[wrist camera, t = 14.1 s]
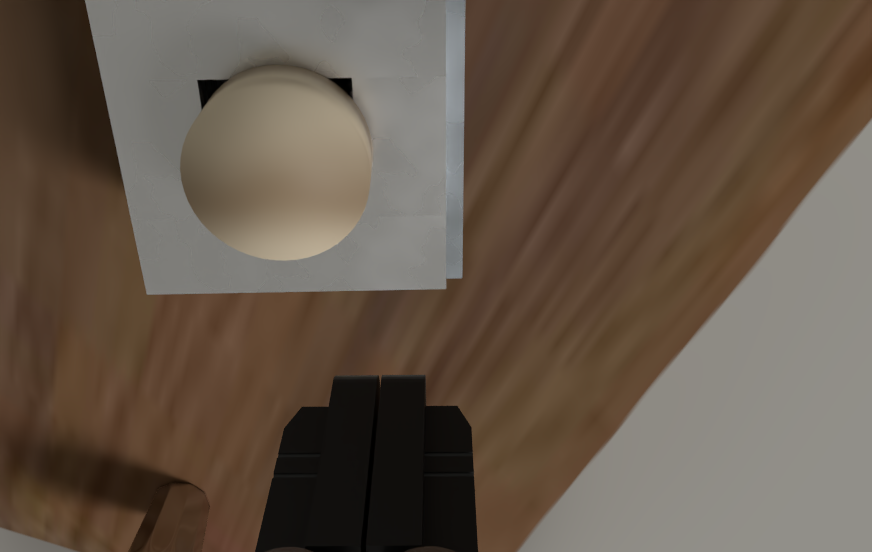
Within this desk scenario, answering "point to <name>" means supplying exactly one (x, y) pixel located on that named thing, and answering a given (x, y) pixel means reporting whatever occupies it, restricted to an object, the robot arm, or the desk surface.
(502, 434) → the desk surface
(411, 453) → the robot arm
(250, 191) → the beech pin
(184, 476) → the desk surface
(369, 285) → the block
